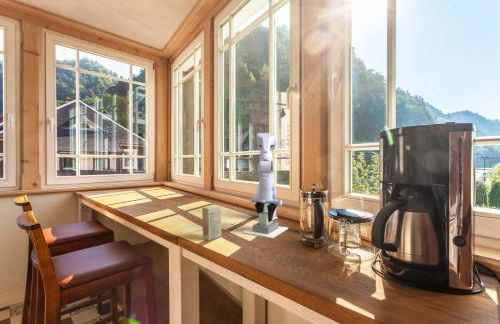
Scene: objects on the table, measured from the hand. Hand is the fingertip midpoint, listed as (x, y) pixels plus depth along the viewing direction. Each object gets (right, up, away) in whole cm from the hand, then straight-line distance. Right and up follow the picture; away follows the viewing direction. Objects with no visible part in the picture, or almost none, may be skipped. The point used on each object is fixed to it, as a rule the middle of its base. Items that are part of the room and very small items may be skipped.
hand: (265, 220), depth 108 cm
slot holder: (0, -4, 0) cm, 4 cm away
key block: (0, -2, 0) cm, 2 cm away
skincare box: (-22, -5, -9) cm, 24 cm away
